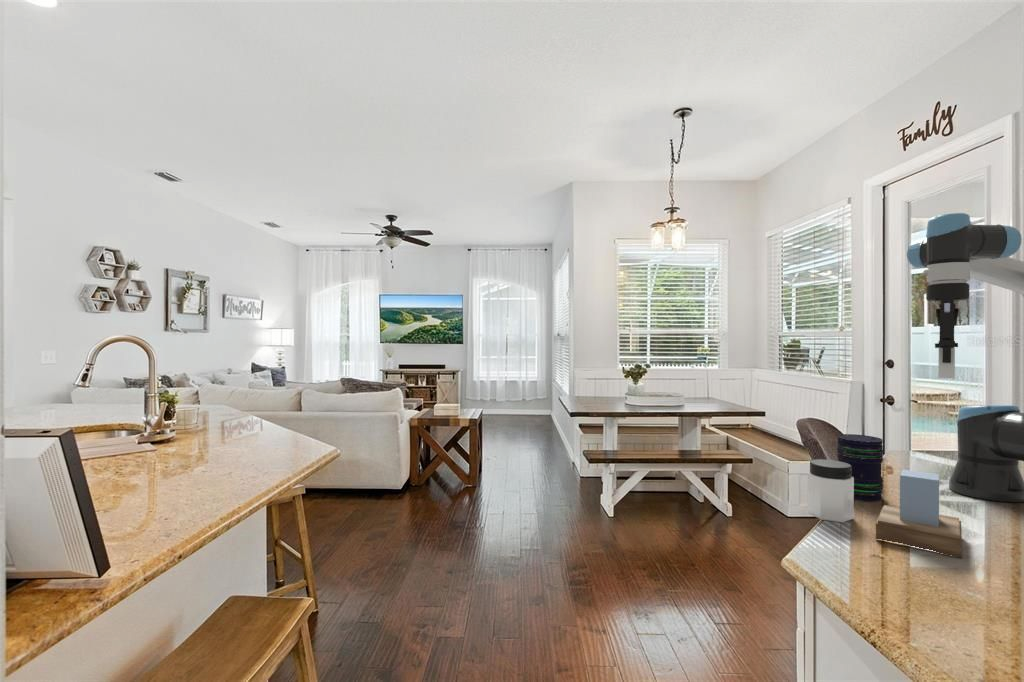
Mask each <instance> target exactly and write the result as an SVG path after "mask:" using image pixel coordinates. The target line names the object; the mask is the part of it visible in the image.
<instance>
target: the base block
mask: <svg viewBox="0 0 1024 682" xmlns="http://www.w3.org/2000/svg"><path fill="white" fill-rule="evenodd" d="M962 534H963V533H962V521H961V520H960V518H959V517H954V516H948V515H943V514H939V527H936V526H930V525H925V524H919V523H914V522H908V521H903V520H900V507H897V506H892V505H888V504H887V505H886V504H884V505H883V506H881V511H880V513H879V515H878V517H877V520H876V522H875V540H876V539H882V540H887V541H892V542H898V543H903V544H907V545H910V546H915V547H919V548H923V549H929V550H933V551H936V552H939V553H943V554H947V555H946V556H948V555H952V556H957V557H963V536H962ZM943 554H942V555H943ZM952 556H951V557H952ZM957 557H956V558H957Z"/></svg>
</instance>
